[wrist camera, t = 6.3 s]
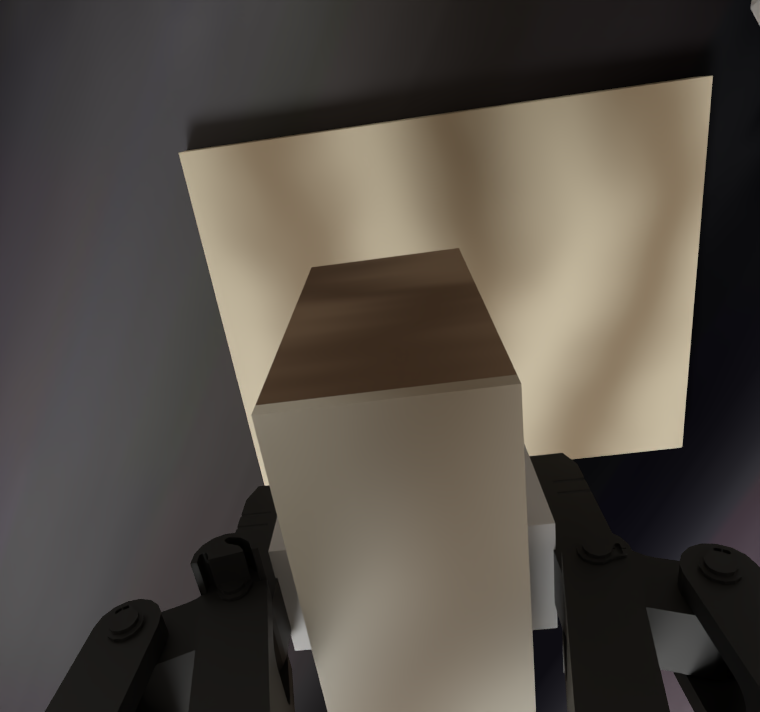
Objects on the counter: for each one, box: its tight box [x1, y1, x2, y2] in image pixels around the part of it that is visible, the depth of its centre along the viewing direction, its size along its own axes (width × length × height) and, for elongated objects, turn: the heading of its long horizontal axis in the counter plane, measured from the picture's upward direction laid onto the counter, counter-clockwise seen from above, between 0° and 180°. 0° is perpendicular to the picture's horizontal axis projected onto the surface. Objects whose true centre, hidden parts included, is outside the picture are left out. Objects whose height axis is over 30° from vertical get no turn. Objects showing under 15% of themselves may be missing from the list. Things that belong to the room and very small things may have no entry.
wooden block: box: [251, 248, 536, 712], centre depth 14 cm, size 4×10×8 cm, turn 8°
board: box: [179, 76, 713, 486], centre depth 26 cm, size 20×16×1 cm
